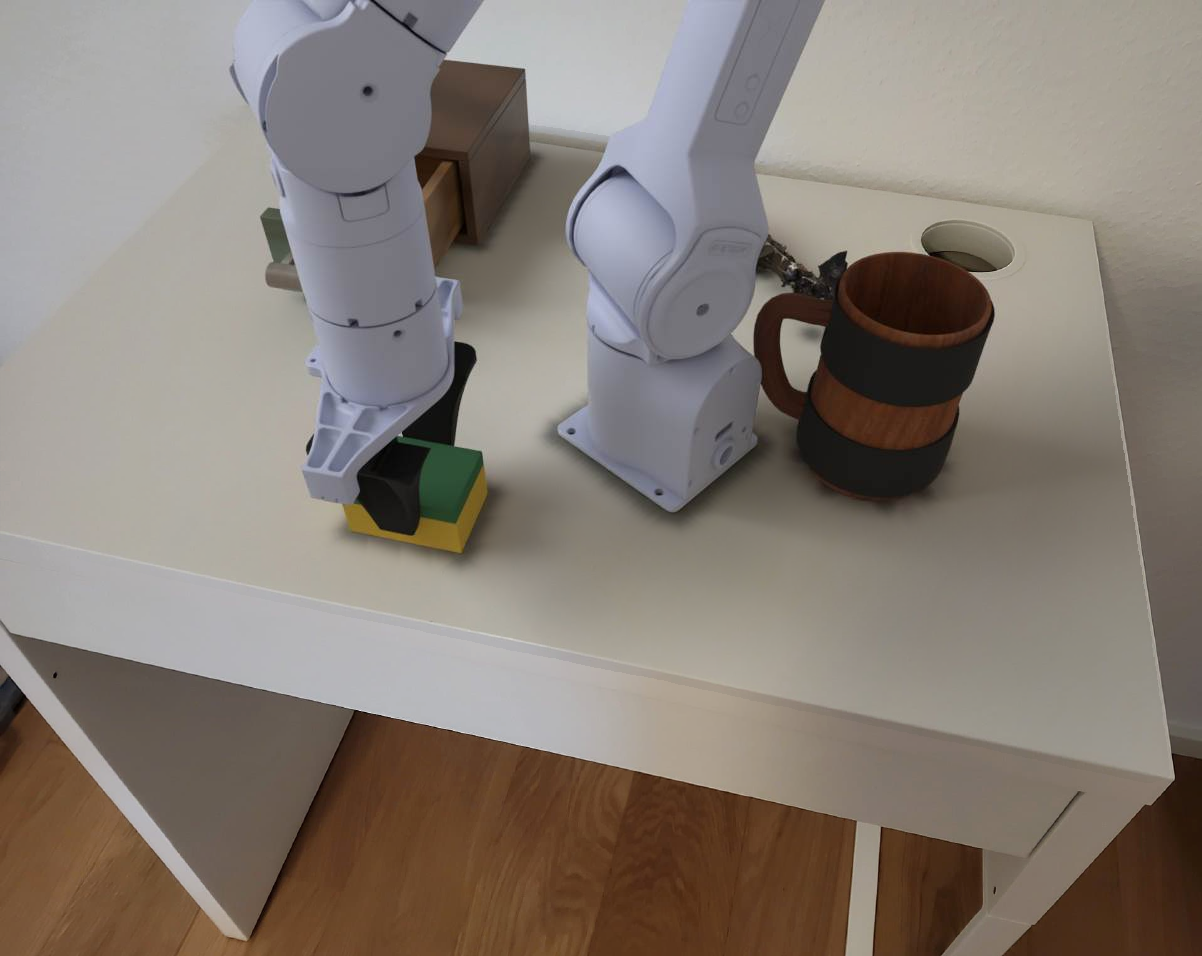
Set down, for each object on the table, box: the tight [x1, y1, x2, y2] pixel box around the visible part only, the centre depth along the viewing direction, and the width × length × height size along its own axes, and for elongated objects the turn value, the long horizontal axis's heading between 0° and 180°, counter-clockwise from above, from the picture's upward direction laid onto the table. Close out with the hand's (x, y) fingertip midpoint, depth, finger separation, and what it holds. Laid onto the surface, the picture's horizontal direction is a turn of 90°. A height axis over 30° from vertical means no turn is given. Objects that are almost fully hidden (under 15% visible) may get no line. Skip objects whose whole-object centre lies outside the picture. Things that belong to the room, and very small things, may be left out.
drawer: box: [259, 155, 466, 294], centre depth 64 cm, size 17×10×6 cm, turn 166°
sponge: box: [341, 435, 489, 554], centre depth 51 cm, size 4×6×4 cm
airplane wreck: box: [756, 233, 849, 300], centre depth 65 cm, size 6×18×6 cm, turn 35°
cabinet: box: [417, 59, 531, 246], centre depth 72 cm, size 14×12×8 cm
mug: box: [752, 251, 996, 502], centre depth 51 cm, size 9×12×12 cm
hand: (416, 492), depth 51 cm, fingers closed on sponge, 4 cm apart
